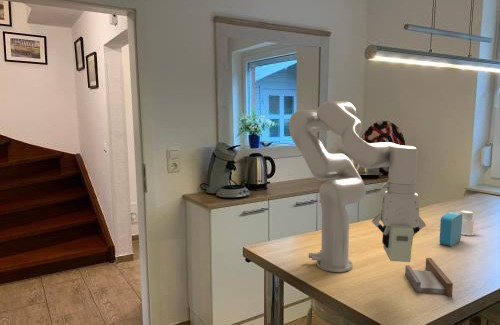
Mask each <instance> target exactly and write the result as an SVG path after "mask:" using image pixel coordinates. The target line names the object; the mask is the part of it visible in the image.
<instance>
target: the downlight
mask: <svg viewBox="0 0 500 325" xmlns="http://www.w3.org/2000/svg"><path fill="white" fill-rule="evenodd" d="M460 213H461V214H462V231H461V236H462V235H463V236H475V233H474V222H475V220H474V219H473V216H474V215H473V214H474V212H473V211H471V210H470V211H469V210H461V211H460Z"/></svg>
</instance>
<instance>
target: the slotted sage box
mask: <svg viewBox="0 0 500 325" xmlns="http://www.w3.org/2000/svg"><path fill="white" fill-rule="evenodd" d="M388 235H389V245H388V248H386V247H385V245H384V244H383V250H384V252H385V254H386V255H387V257H388V260H389V262H402V263H411V257H412V246H413V241H412V236H413V228H412V227H411V226H395V225H391V227H390V230H389V232H388ZM413 237H414V236H413Z"/></svg>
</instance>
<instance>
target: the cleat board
mask: <svg viewBox="0 0 500 325" xmlns="http://www.w3.org/2000/svg"><path fill="white" fill-rule="evenodd" d="M404 274H405V276H406V278H407V279H408V282H409V283H410V284H411V286H412V287H413V289H414V291H415V292H416V293H426V294H444V295H445V296H446V297H452V296H453V288H454V283H453V282H452V281H451V280H450V278H449V277H448V276H447V275H446V274H445V272H443V270H442V269H441V268H440V266H439V265H437V264H436V262H435V261H434V259H432V257H426V258H425V270H418V269H417V270H415V269H414V270H413V269H412V267H411V266H410V265H409V264H405V273H404Z"/></svg>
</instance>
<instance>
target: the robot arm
mask: <svg viewBox="0 0 500 325" xmlns="http://www.w3.org/2000/svg"><path fill="white" fill-rule="evenodd" d="M362 126H363V124H362V121H361V120H360V119H359V118H358V117H357V110H356V107H355V106H354V105H353V104H352V103H351V102H349V101H346V100H344V101H343V100H340V101H339V100H338V101H337V100H331V101H330V100H329V101H325V102H323V103H321V104H320V105H319V106H318V107H317V109H301V110H297V111H295V112H293V113H292V114H291V116H290V118H289V121H288V129H289V130H288V131H289V135H290V138H291V140H292V141H293V143H294V144H295V146H296V147H297V149H298V151H300V153H301V155H302V157H303V159H304V161H305V163H306V164H307V166H308V168H309V170H310V173H311V174H312V176H313V177H314V179H316V180H318V181H323V183H322V184H321V186H319V191H318V192H319V195H318V196H319V200H320V205H321V248H320V251H319V252H308V259H311V260H312V261H316V265H317V267H318V268H319V269H321V270H323V271H325V272H331V273H345V272H348V271H350V270H352V269H353V262H352V261H351V260H350V259H349V248H350V246H349V243H350V242H349V238H350V218H349V217H350V216H349V214H348V211H347V208H346V207H345V206H347V205H351V204H356V203H359V202H361V201H363V200H364V199H365V197H366V194H367V193H366V192H367V188H366V185H365V183H364V180H363V179H362V177H361V175H360V174H359V172H358V170H357V168H356V167H355V165H354V163H355V164H356V165H358V166H359V167H362V168H364V169H368V170H371V169H377V168H378V169H379V168H380V169H381V168H388V179H387V182H385V183H382V188H383V189H386V190H385V191H384V194H383V198H382V203H381V209H380V213H378V214H377V215H376V216H375V217H374V218H373V219H372V220H371V222H372V223H373V225H375V227H376V228H377V229H378V230H380V232H381V233H382V242H381V243H382V244H383V245H385V247H386V248H388V245H389V235H388V232H389V230H390V227H391V225H395V226H411V227H412V228H413V236H412V242H413V240H414V239H413V238H414V237H415V235H416V234H417V233H419V232H420V231H421V230H422V229H423V228H425V227H426V226H427V224H426V223H425V221H424V220H423V219H422V218H421V217H420V200H419V199H420V198H419V193H417V192H416V186H417V185H416V184H417V173H418V163H419V162H418V161H419V150H418V148H417V147H415V146H412V145H402V144H401V145H400V144H397V143H394V142H389V141H387V142H386V141H385V142H370V143H368V142H367V141H366V140H364V139H363V138H362V137H360V133H361V132H362V128H363V127H362ZM330 131H331V132H332V133H333V134H335V135H336V136H337V137H338V138H339V139H340V140H341V145H342V148H343V152H344V153H345V154H344V153H341V152H332V153H331V152H328V151H327V149H326V148H325V146H324V144H323V142H322V141H321V140H320V139H319V138H318V137H317V136H315V135H314V134H313V133H319V132H322V133H323V132H330ZM352 161H353V162H354V163H353V162H352ZM324 181H325V182H324ZM380 221H381V222H382V224H381V223H380Z"/></svg>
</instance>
